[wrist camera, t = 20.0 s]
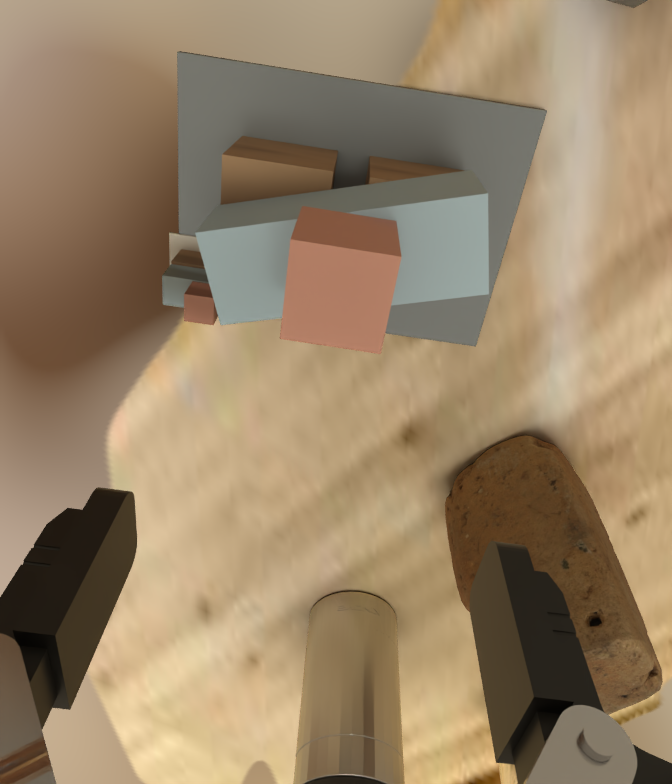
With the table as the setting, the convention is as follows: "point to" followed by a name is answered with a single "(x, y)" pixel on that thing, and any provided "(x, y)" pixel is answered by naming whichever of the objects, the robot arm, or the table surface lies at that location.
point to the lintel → (380, 200)
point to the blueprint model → (188, 281)
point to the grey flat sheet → (356, 151)
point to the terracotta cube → (340, 279)
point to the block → (555, 556)
